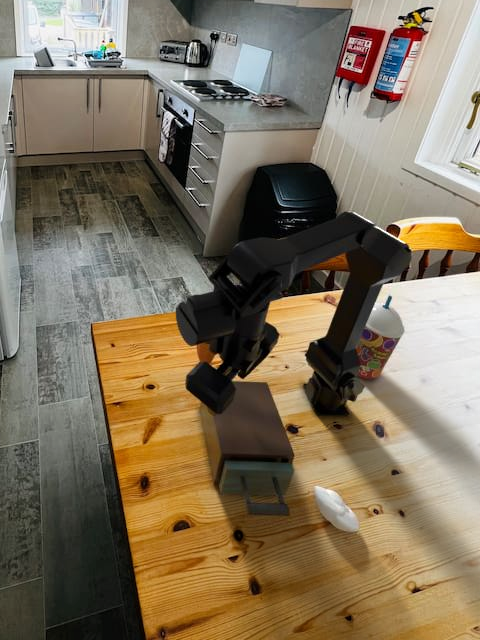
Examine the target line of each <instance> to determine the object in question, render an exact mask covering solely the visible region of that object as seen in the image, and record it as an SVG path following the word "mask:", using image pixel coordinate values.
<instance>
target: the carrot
mask: <svg viewBox="0 0 480 640" xmlns="http://www.w3.org/2000/svg"><path fill="white" fill-rule="evenodd" d="M209 347H210V344H205V343H201V344H198V345H196V355H197V357H198V360H199V362H203V361H206V362H207V363H208V364H210V365H211V363H212V362H213V360H214V358H215V357H216V355H215V354H213V353H212V352H211V351H209Z"/></svg>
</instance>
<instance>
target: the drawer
mask: <svg viewBox="0 0 480 640" xmlns="http://www.w3.org/2000/svg"><path fill="white" fill-rule="evenodd" d="M281 459H282V458H261V457H230V456H225V460H224V464H223V468H222V472H221V474H222V475H221V479H220V483H219V485H218V488H219V492H220V494H222V495H223V494H225V495H227V494H228V495H243V496H244V500H245V504H244V507H245V513H246V515H247V516H260V517H261V516H262V517H270V516H271V517H290V516H291V510H290V506H289V504H288V503H286V501H285V499H284V496H286V495H287V493H288V490H289V487H290V484H291V482H292V480H293V476H294V474H295V469H294V465H293V463H280V462H281ZM251 495H256V496H257V495H258V496H259V495H260V496H277V499H278V502H256V501H255V502H253V501H252V500H251Z"/></svg>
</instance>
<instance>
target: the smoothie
mask: <svg viewBox="0 0 480 640" xmlns="http://www.w3.org/2000/svg"><path fill="white" fill-rule="evenodd" d="M392 299H393V296H392V295H390V294H389V295H388V296H387V298H386V301H385V302H380V301H376V302H375V305H374V307H373V309H372V312H371V314H370V316H369V319H368V321H367V323H366V326H365V328H364V331H363V333H362V335H361V338H360V340H359V342H358V345H357V347H356V349H357V353H358V357H359V360H360V364H361V366H360V370H359V373H358V376H357V377H360V378H361V379H362V378H363V379H366V380H374V379H375V378H377V377H379V376H381V373H382V372H383V370H384V368H385V366H386V364H387V363H388V361H389V360H390V357H392V354H393V353H394V351H395V349H396V347H397V345H398V344H399V342H400V340H401V338H402V336H403V335H404V333H405V332H406V330H405V329H406V328H405V326H404V324H403V319H402V317H401V315H400V313H398V311H397V310H396V309H395V308H394V307H392V305H391V301H392Z"/></svg>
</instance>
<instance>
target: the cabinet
mask: <svg viewBox="0 0 480 640" xmlns="http://www.w3.org/2000/svg"><path fill="white" fill-rule="evenodd" d="M232 382H233V384H234V386H235V388H236V393H235V396H234V400H233V401H232V402H231V404H230V405H229V406H228V408H227V409H226V410H225V411H224V412H223V413H222V414H217V415H215V416H213V415H211V414H210V413H209V412H208V410H207V406H206V405H205V404H203V403H202V402H201V401H200V404H199V408H198V409H199V417H200V421H201V425H202V431H203V436H204V441H205V447H206V452H207V457H208V462H209V468H210V472H211V477H212V483H213V485H218V486H219V483H220V479H221V475H222V474H221V472H222V468H223V464H224V460H225V456H230V457H261V458H282V459H281V462H280V463H292V464H293V462H294V459H295V456H296V455H295V452H294V449H293V447H292V444H291V441H290V439H289V436H288V434H287V431H286V428H285V426H284V422H283V421H282V417H281V415H280V412H279V410H278V407H277V404H276V402H275V399H274V397H273V394H272V391H271V389H270V385H269V383H268V382H267V381H245V380H244V381H241V380H232Z"/></svg>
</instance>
